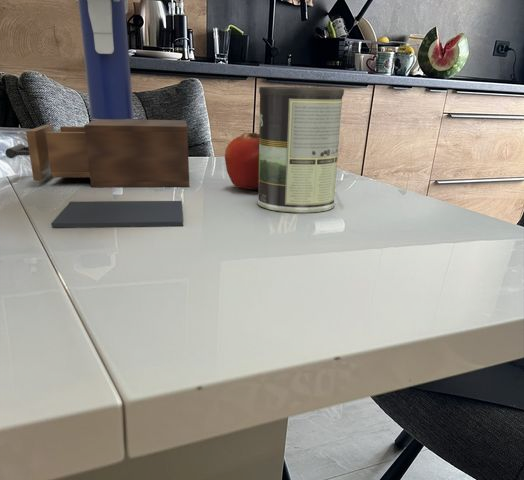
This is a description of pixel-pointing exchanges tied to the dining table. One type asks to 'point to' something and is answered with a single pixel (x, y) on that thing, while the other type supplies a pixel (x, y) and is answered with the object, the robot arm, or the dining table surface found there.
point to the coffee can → (298, 148)
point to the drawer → (55, 152)
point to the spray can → (108, 67)
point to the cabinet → (137, 153)
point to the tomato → (243, 161)
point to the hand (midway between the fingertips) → (108, 55)
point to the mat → (120, 214)
